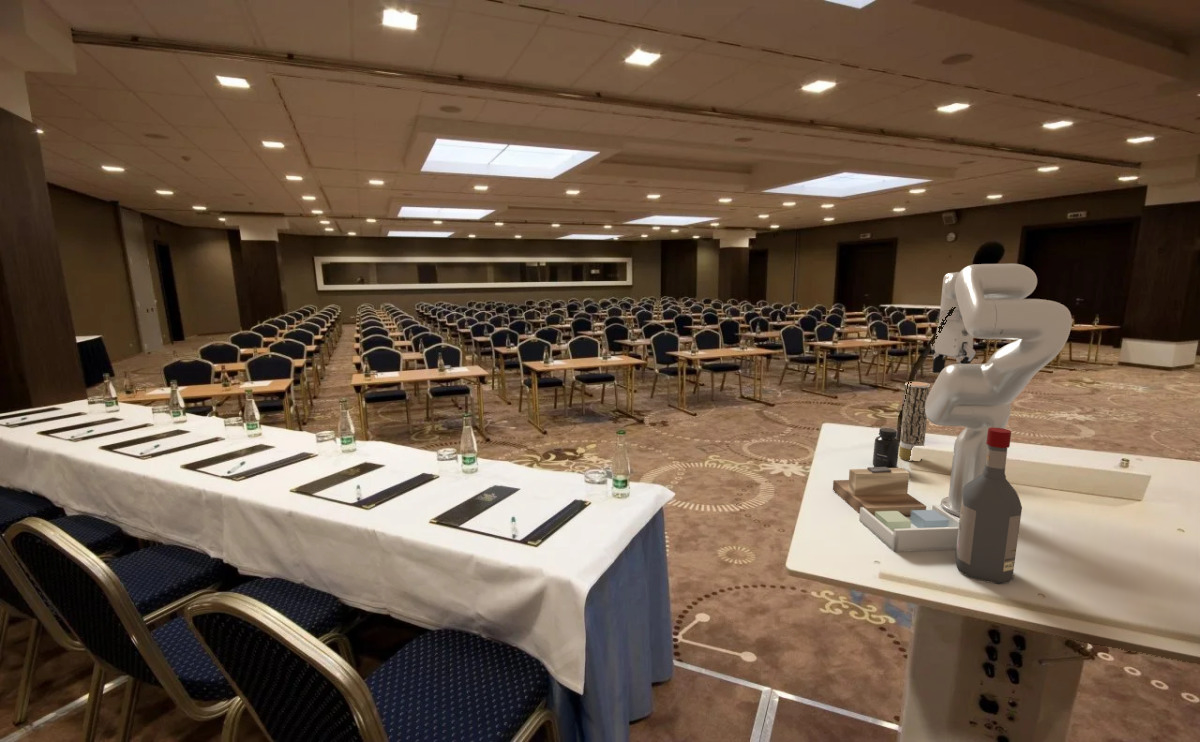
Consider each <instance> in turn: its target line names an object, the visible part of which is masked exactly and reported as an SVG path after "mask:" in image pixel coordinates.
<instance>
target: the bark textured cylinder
mask: <svg viewBox="0 0 1200 742" xmlns="http://www.w3.org/2000/svg"><path fill="white" fill-rule="evenodd" d="M908 382H909V384H908ZM910 382H912V383H910ZM907 384H908V389H907ZM910 385H911V386H910ZM906 389H907V394H906ZM930 391H931V384H930V383H928V382H924V381H906V382H905V384H904V392H903V393H904V395H903V404H904V406H903V405H902V416H901V417H902V418H901V426H900V427H901V428H900V430H901V431H900V439H899V440H900V441H899V452H898V457H899V458H900V459H902V460H904V461H908V462H910V461H909V460H910V456H911V450H912V448H913V447H914V446H924V447H925V441H926V432H927V431H926V430H927V421H928V418H927V416H926V413H925V404H926V400H927V397H928V395H929V393H930ZM909 393H910V394H909ZM905 395H906V399H905ZM904 400H905V402H904ZM908 401H909V403H908Z"/></svg>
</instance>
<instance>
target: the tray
mask: <svg viewBox="0 0 1200 742" xmlns="http://www.w3.org/2000/svg"><path fill="white" fill-rule="evenodd" d="M931 510H935V511H936V512H938V513H939V514H940V515H942V516H943V517H945V518H946V519H948V520H949V522H948V527H935V528H917V527H916V526H915V525H913V524H912V523H911V528H904V529H894V531H893V532H892V531H891V530H890V529H889V528H888V527H886V526H885V525H884V524H883V523H882V522H880V521H879V520H878V519H877V518H876V517H875V516H873V515H872V514H871V513H870V512H869V511H867V510H866V509H865V508H864V507H860V514H859V522H860V523H861V524H862V525H863V526H865V528H867V529H868V530H869V531H870V532H872V534H874V535H875V536H876V537H877V538H878V539H879V540H880V541H882V542H883V544H885V545H886V546H887V547H888V548H889V549H890V550H891V551H892V552H894V553H897V552H898V553H899V552H924V551H950V550H951V551H952V550H953V551H954V550H955V551H956V547H957V538H958V529H959V520H960V519H958V518H956V517H955V516H953V514H951V513H949V512H948V511H946V510H945V509H943V508H941V507H939V506H938V505H936V504H932V507H931ZM906 518H908V519H909V520H910V518H911V517H906Z"/></svg>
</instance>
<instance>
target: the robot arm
mask: <svg viewBox="0 0 1200 742" xmlns="http://www.w3.org/2000/svg"><path fill="white" fill-rule="evenodd" d="M1037 285H1038V277H1037V275H1036V273H1035V272H1034V270H1032V269H1031V268H1030V267H1028V266H1026V265H1024V264H1019V263H981V264H980V263H979V264H970V265H969V264H968V265H967V266H965V267H963V268H962V269H961V270H960V271H956V272H948V273H946V274H945V275H944V276H943V280H942V289H941V299H940V309H939V319H938V324H937V328H936V333H935V337H936V336H938V337H937V339H934V341H935V343H934V344H933V346H932V344H931V343H930V348H931V351H930V352H931V354H932V361H933V362H932V373H934V374H938V376H937V378H936V379H935V381H934V384H933V385H932V387H931V388H930V391H929V395H928V397H927V400H926V404H925V413H926V416H927V420H928V421H930V423H932V424H934V425H936V426H941V427H942V426H943V427H958V428H959V427H962V428H964V429H962V431H961V432H960V433H959V434H958V435H957V436H956V439H955V441H954V443H953V444H954V445H953V452H952V453H953V454H952V461H951V472H950V482H949V492H948V496H946V497H943V498H941V500H940V506H941V507H942V508H941V509H943V510H944V511H946V512H947V513H949V514H950V515H954V516H957V517H959V518H960V511H961V502H962V493H963V488H964V486H965V485H966V484H967V483H969V482H970V481H972V480H973V479H975V478H976V477H978V476H980V475H981V474H983V470H984V468H985V464H986V456H987V449H988V445H987V444H986V442H987V434H988V429H989V428H992V427H994V428H1003V429H1007V428H1006V427H1007V425H1008V422H1009V420H1010V415H1011V411H1012V404H1011V403H1012V402H1013V401H1015V400H1016V398H1018V396H1019V395H1020V394H1021V393H1022V391H1023V390H1024V389H1025V388H1026V387H1027V385H1028V384H1029V383H1030V381H1031V380H1032V379H1033V377H1034V376H1035V375H1036V374H1037V373H1039V372H1040V371H1041V370H1042V369H1043V368H1044V367H1046V366H1047V365H1048V364H1050V362H1052V361H1053V360H1054V359H1055V358H1056V357H1057V356H1058V355H1059V353H1060V352H1062V349H1063V348H1064V346H1065V345H1066V343H1067V341H1068V340H1069V339H1068V338H1069V336H1070V335H1071V333H1070V332H1071V329H1072V326H1073V325H1072V323H1073V321H1072V320H1073V319H1072V314H1071V311H1070V310H1069V308H1068V307H1067V306H1065V305H1064V304H1061V302H1057V301H1054V300H1049V299H1048V300H1047V299H1043V298H1042V299H1040V298H1027V297H1028V296H1030V295H1032V293H1034V291H1035V290H1036V287H1037ZM952 307H953V308H954V307H956V308H955V309H954V311H953V313H952V315H951V314H950V315H951V316H948V317H947V318H946V320H947V322H946V320H945V317H946V316H947V315H948V314H947V313H948V312H949V310H950V309H951V308H952ZM953 308H952V309H953ZM942 319H943V320H945V321H944V323H945V322H946V324H945V325H942V327H943V326H944V327H943V329H942V331H941V329H940V331H941V333H939V332H938V331H939V328H938V327H939V326H941V325H940V323H941V322H943V321H942ZM936 334H937V335H936ZM974 338H975V339H979V340H982V339H983V340H1014V341H1012V342H1009V343H1008V344H1006V345H1003V346H1002V347H1001V348H999V349H997V350H996V351H995V352H994V353H993V354H992V355H991V357H990V358H989V360H988V361H987V362H986V363H971V362H973V360H974V357H975V355H976V351H975V349H974V345H973V344H974ZM945 357H948V358H949V357H950V358H954V359H955V360H956V363H953V364H949V365H947V366H945V365H946V359H945Z"/></svg>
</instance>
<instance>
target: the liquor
mask: <svg viewBox="0 0 1200 742" xmlns="http://www.w3.org/2000/svg"><path fill="white" fill-rule="evenodd" d="M1011 436H1012V430H1010V429H1008V428H1005V429H1003V428H994V427H992V428H989V429H988V434H987V442H986V444H987V445H988V449H987V456H986V464H985V468H984V470H983V474H981V475H980V476H978V477H976V478H975V479H973V480H972V481H970V482H969V483H967V484H966V485H965V486H964V488H963V493H962V502H961V511H960V517H959V519H958V520H959V529H958V538H957V547H956V550H955V561H956V568H957V570H958V572H960V573H962V574H963V575H965V576H966V577H968V578H970V579H974V580H980V581H983V582H989V583H991V584H996V585H1002V584H1007V583H1010V582H1011V581H1012V580H1013V578H1014V570H1015V563H1016V555H1017V548H1018V547H1017V546H1018V542H1019V541H1018V540H1019V533H1020V526H1021V519H1022V511H1023V507H1022V502H1021V500H1020V496H1019V495H1018V492H1017V491H1016V490H1015V488H1014V487H1013V486H1012V484H1011V483H1010V482H1009V480H1008V479H1007V476H1006V464H1007V456H1008V448H1010V445H1011V438H1012V437H1011Z"/></svg>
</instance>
